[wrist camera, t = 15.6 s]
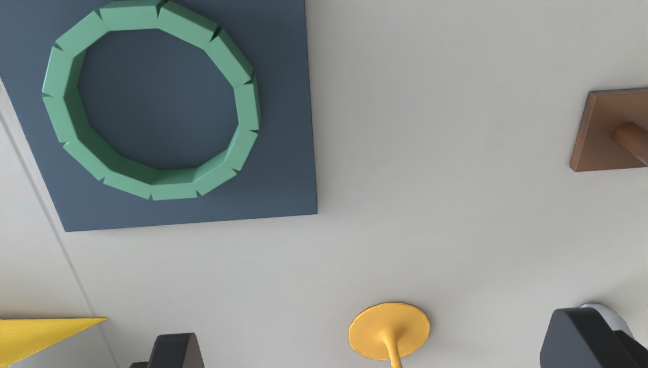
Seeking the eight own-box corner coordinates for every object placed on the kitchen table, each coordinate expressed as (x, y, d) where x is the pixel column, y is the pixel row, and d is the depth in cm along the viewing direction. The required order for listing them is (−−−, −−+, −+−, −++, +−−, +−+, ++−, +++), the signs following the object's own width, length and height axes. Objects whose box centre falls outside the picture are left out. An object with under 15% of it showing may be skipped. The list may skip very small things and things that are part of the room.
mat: (-43, -51, 30) (-53, -50, 29) (299, -69, 31) (300, -68, 30) (69, 225, 41) (65, 232, 41) (317, 207, 42) (317, 214, 41)
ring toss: (588, 91, 38) (649, 130, 31) (673, 85, 38) (750, 123, 32) (568, 166, 41) (619, 215, 35) (646, 161, 42) (710, 209, 35)
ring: (28, 6, 31) (10, 13, 29) (245, -7, 31) (242, 0, 29) (93, 189, 39) (82, 205, 36) (268, 177, 39) (267, 192, 37)
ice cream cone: (115, 295, 52) (-94, 343, 47) (98, 280, 46) (-142, 333, 42) (120, 352, 49) (-100, 409, 45) (103, 344, 44) (-152, 407, 39)
